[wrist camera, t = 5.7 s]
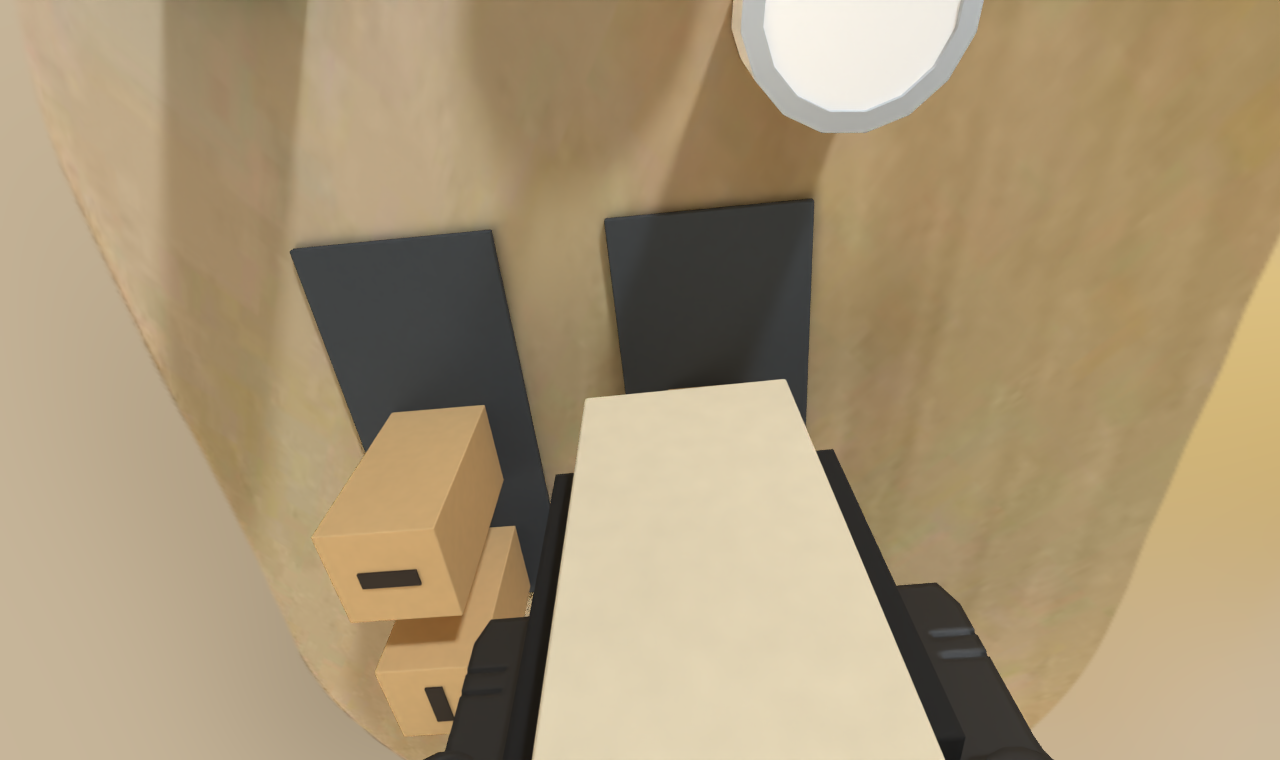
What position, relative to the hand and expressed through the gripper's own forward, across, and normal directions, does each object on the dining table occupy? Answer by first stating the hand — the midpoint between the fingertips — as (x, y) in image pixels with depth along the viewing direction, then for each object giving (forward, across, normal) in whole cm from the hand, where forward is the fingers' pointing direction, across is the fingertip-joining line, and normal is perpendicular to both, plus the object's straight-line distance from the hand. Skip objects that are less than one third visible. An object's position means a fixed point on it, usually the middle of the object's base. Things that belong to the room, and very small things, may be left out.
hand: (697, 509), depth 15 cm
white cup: (+16, -6, -10) cm, 20 cm away
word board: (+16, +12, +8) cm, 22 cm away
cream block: (+2, 0, 0) cm, 2 cm away
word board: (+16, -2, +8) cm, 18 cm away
